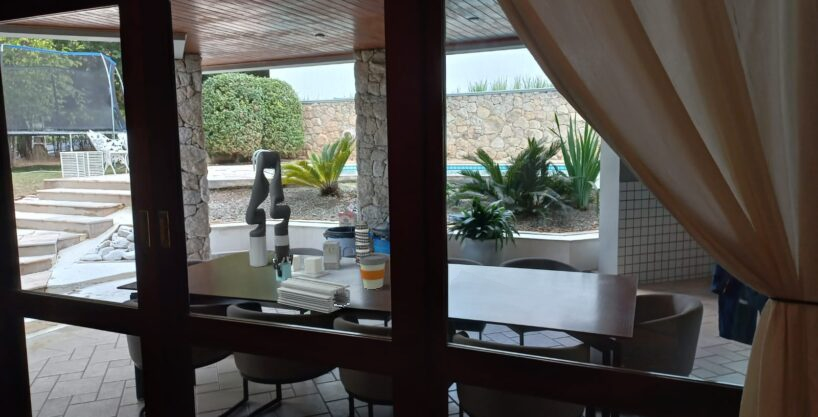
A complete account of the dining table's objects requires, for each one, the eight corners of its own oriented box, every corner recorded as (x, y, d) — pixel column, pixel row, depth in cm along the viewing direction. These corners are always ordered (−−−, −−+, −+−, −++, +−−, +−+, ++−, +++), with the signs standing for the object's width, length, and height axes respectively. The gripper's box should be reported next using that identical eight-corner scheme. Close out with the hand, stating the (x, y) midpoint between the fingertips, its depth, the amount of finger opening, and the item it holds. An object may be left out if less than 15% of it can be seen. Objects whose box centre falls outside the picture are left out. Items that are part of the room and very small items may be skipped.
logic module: (276, 280, 291) (275, 264, 290) (282, 278, 295) (282, 262, 294) (285, 281, 288) (284, 265, 287) (291, 279, 292) (290, 263, 291)
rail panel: (277, 273, 306) (276, 257, 305) (292, 269, 316) (291, 253, 315) (314, 278, 293) (313, 261, 292) (328, 273, 303) (328, 256, 302)
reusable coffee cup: (366, 292, 264) (365, 260, 262) (356, 286, 275) (355, 256, 273) (390, 288, 270) (389, 257, 268) (379, 282, 281) (378, 253, 279)
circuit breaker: (342, 264, 325) (341, 239, 323) (337, 270, 310) (335, 243, 309) (329, 264, 325) (328, 239, 323) (323, 270, 311) (322, 243, 309)
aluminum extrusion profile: (327, 314, 233) (326, 290, 232) (277, 303, 250) (276, 281, 249) (350, 305, 244) (349, 282, 243) (300, 295, 262) (299, 274, 261)
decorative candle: (351, 264, 324) (350, 221, 321) (361, 261, 332) (359, 219, 329) (364, 266, 319) (363, 222, 317) (374, 262, 327) (372, 220, 324)
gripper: (286, 240, 297) (287, 272, 299) (266, 245, 285) (268, 278, 287) (296, 241, 294) (298, 273, 296) (277, 246, 281) (279, 279, 283)
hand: (283, 275), depth 291 cm, fingers closed on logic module, 5 cm apart
